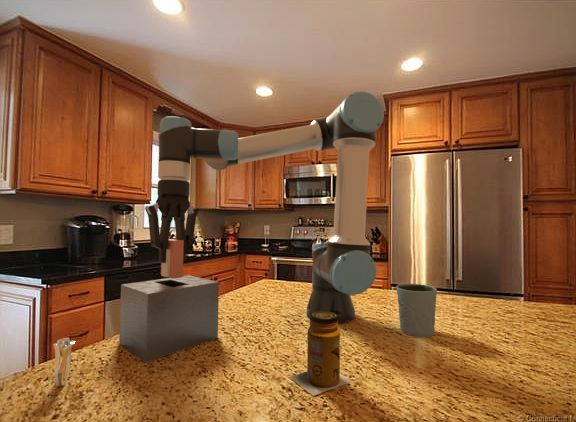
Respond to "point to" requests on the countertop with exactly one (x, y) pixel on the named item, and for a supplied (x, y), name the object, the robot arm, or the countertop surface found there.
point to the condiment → (322, 355)
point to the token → (175, 258)
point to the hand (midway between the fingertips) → (171, 275)
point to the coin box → (168, 315)
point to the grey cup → (417, 309)
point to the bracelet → (62, 371)
